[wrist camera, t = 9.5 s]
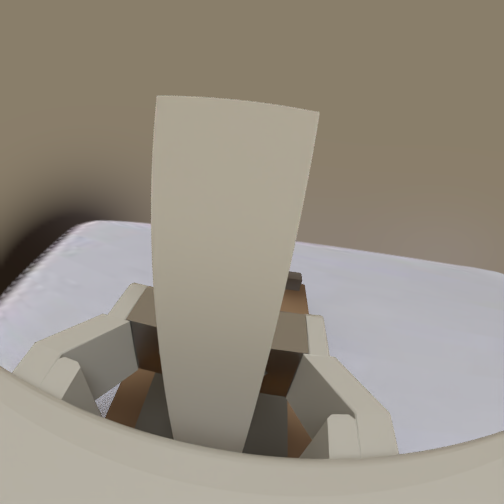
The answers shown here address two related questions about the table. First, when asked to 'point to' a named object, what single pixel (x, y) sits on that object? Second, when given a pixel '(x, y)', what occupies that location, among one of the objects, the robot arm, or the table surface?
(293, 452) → the fader track
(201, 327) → the fader tab
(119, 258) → the table surface
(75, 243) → the table surface
